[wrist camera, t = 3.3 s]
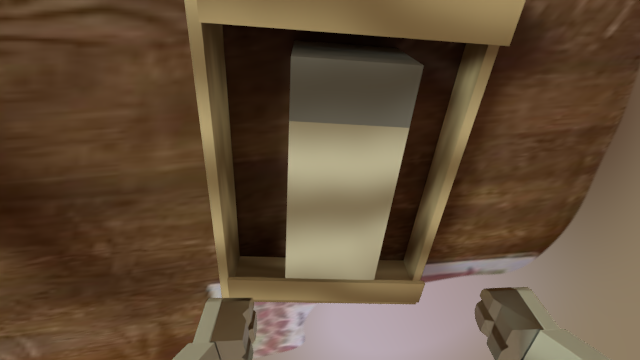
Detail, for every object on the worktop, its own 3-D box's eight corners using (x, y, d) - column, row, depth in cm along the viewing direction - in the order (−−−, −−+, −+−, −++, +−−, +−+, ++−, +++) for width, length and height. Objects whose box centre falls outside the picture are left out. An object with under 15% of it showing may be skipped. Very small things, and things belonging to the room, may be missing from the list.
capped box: (362, 231, 26) (374, 280, 22) (288, 229, 25) (285, 278, 21) (396, 48, 19) (423, 65, 14) (294, 40, 18) (290, 56, 14)
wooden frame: (408, 265, 28) (424, 307, 24) (233, 261, 27) (221, 304, 23) (494, -18, 17) (546, -20, 13) (205, -44, 16) (174, -54, 12)
